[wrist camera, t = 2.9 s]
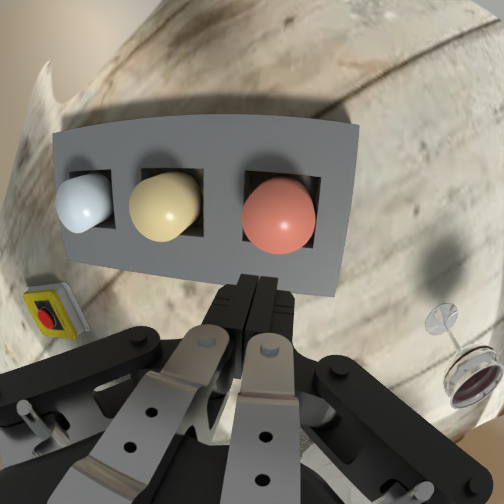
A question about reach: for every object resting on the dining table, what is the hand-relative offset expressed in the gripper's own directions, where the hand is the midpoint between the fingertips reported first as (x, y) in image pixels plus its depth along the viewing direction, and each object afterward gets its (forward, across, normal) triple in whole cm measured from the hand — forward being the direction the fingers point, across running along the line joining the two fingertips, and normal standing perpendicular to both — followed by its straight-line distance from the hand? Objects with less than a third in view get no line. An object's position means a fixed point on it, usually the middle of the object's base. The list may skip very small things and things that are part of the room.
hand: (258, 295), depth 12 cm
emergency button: (+17, +37, +20) cm, 45 cm away
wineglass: (+17, -22, +12) cm, 30 cm away
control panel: (+17, +10, 0) cm, 19 cm away
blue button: (+15, +20, 0) cm, 25 cm away
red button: (+15, 0, 0) cm, 15 cm away
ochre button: (+15, +10, 0) cm, 18 cm away
